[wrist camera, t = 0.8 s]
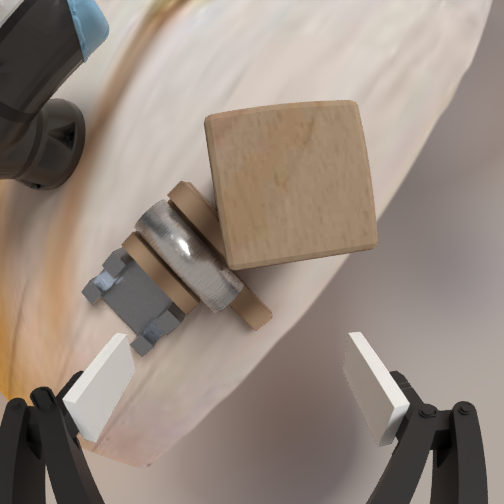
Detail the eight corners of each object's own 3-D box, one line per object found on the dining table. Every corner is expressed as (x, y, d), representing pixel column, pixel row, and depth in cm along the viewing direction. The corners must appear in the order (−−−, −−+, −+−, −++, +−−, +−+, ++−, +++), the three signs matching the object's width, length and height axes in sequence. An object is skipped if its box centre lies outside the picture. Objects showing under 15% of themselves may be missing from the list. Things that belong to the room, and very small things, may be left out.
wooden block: (242, 231, 37) (227, 273, 17) (230, 156, 35) (201, 114, 15) (316, 220, 36) (380, 249, 17) (305, 146, 34) (358, 98, 15)
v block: (94, 284, 39) (81, 292, 35) (126, 245, 37) (113, 251, 33) (150, 343, 40) (142, 356, 36) (187, 311, 39) (180, 323, 35)
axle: (145, 225, 35) (128, 231, 30) (170, 198, 34) (155, 200, 29) (217, 302, 37) (210, 319, 32) (245, 279, 36) (242, 293, 31)
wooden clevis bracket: (136, 238, 37) (121, 245, 32) (190, 182, 36) (180, 181, 31) (235, 340, 40) (233, 358, 35) (293, 293, 38) (298, 307, 34)
